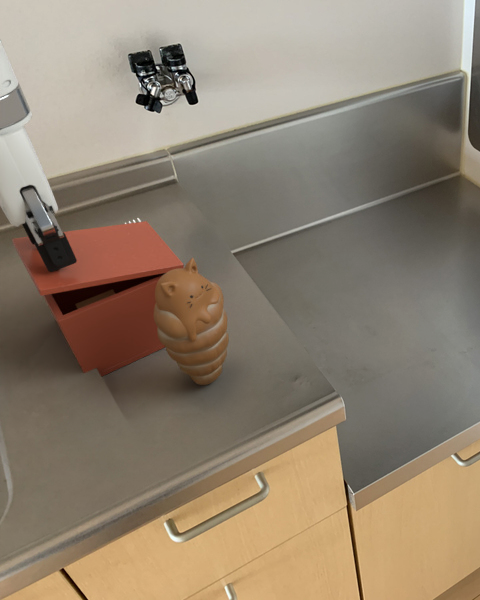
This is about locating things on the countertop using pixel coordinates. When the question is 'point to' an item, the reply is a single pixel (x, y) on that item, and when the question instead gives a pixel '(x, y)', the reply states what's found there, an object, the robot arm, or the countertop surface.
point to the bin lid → (101, 257)
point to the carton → (95, 299)
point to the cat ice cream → (192, 322)
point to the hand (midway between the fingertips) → (53, 251)
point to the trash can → (109, 323)
